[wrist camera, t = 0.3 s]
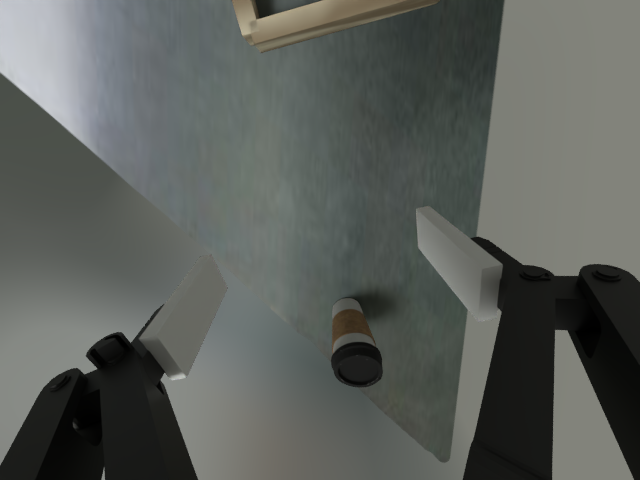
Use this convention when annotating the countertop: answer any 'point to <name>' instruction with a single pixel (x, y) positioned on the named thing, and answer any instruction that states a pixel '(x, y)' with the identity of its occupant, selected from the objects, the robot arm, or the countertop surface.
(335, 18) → the wooden corner barrier
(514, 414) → the robot arm
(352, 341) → the coffee cup
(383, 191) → the countertop surface
